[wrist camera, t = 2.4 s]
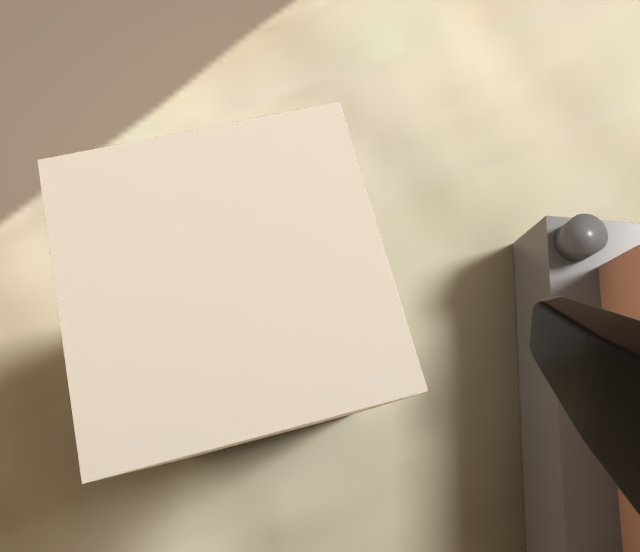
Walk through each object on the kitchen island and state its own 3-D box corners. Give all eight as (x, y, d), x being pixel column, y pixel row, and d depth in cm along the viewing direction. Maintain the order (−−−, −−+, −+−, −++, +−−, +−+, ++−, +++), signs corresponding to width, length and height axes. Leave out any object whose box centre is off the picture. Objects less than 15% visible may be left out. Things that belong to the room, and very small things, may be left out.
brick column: (352, 414, 17) (428, 391, 8) (194, 457, 17) (82, 483, 7) (312, 265, 18) (339, 101, 9) (164, 300, 18) (37, 160, 9)
